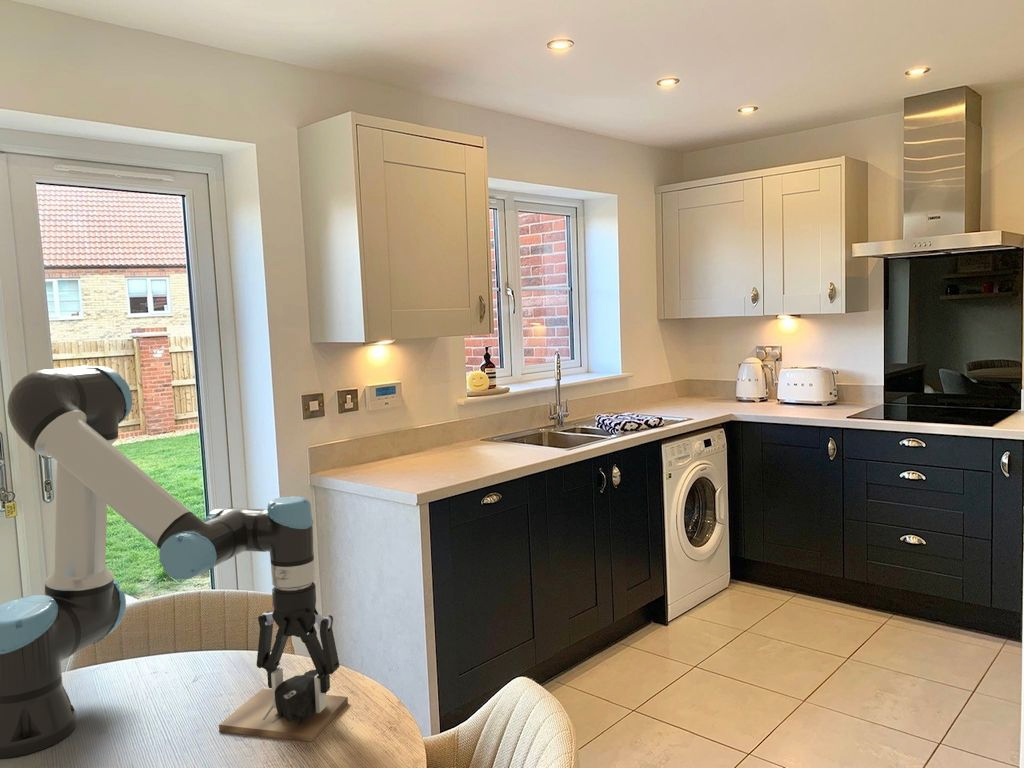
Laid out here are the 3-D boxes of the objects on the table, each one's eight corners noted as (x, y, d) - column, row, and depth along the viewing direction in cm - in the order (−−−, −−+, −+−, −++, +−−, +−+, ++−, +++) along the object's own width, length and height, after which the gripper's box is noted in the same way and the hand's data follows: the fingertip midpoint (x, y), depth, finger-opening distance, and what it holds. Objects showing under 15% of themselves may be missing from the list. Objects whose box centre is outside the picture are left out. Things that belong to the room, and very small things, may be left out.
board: (219, 731, 139) (218, 724, 139) (262, 694, 153) (262, 688, 152) (311, 741, 135) (311, 734, 135) (347, 703, 148) (347, 696, 148)
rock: (292, 729, 135) (291, 696, 135) (268, 708, 143) (267, 677, 142) (340, 712, 141) (338, 680, 140) (314, 693, 149) (313, 663, 148)
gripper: (230, 588, 140) (237, 711, 142) (337, 594, 135) (343, 722, 137) (253, 574, 147) (260, 692, 149) (356, 580, 142) (361, 702, 144)
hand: (299, 706), depth 143 cm, fingers closed on rock, 8 cm apart
